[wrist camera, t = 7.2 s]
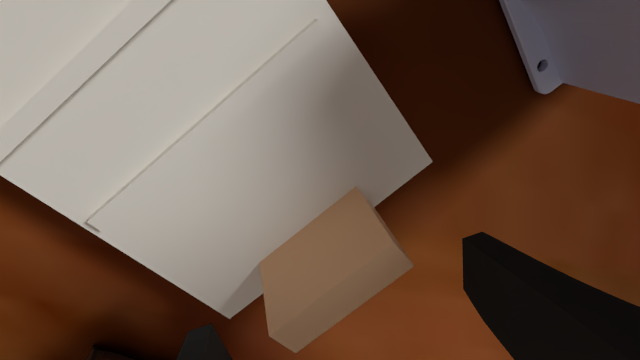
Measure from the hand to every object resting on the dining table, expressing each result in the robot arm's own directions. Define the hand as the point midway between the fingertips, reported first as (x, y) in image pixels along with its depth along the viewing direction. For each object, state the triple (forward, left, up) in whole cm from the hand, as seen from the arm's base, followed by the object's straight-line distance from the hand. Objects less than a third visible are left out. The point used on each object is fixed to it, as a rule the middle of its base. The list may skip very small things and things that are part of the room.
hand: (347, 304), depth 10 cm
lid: (+7, 0, -5) cm, 9 cm away
